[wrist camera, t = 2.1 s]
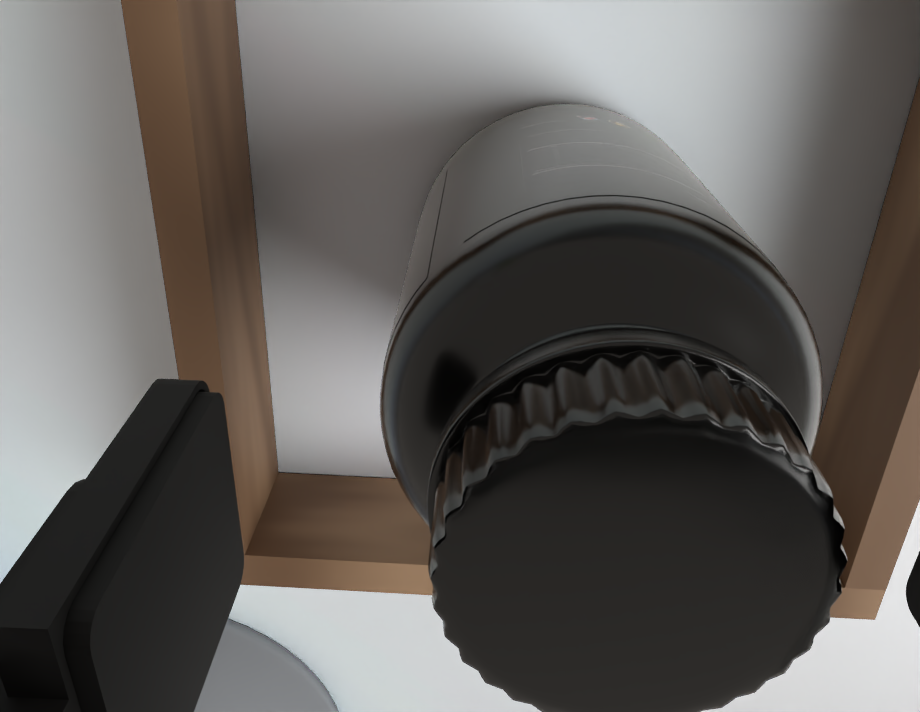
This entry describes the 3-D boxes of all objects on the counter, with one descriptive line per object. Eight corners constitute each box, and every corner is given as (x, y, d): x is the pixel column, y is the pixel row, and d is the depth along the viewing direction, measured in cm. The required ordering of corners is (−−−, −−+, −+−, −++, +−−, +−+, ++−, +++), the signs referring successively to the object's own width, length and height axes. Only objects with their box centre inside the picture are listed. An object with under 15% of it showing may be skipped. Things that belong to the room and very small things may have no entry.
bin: (1040, -161, 16) (1173, -182, 12) (825, 528, 24) (874, 619, 20) (167, -189, 16) (88, -216, 13) (247, 498, 24) (210, 582, 21)
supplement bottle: (641, 388, 22) (775, 829, 11) (393, 325, 21) (285, 724, 11) (749, 139, 19) (1081, 424, 8) (460, 57, 18) (403, 244, 7)
